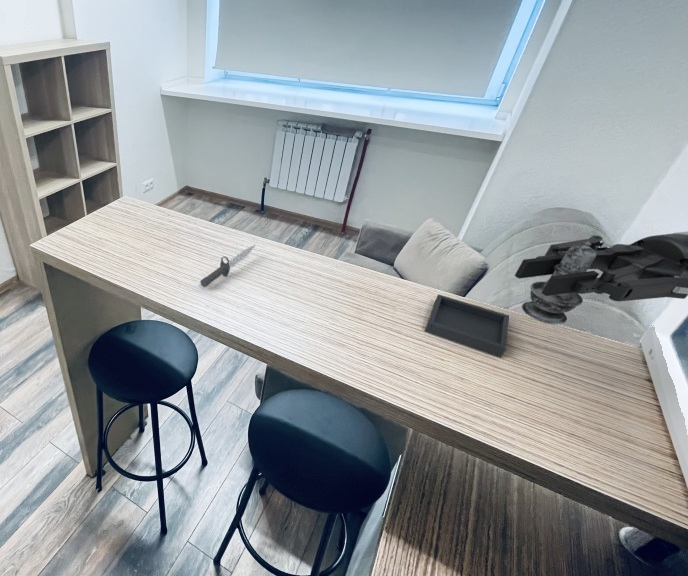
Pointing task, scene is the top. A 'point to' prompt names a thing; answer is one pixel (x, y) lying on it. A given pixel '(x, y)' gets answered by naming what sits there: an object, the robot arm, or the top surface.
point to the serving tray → (469, 325)
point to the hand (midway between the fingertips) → (534, 277)
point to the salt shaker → (557, 305)
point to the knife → (225, 267)
